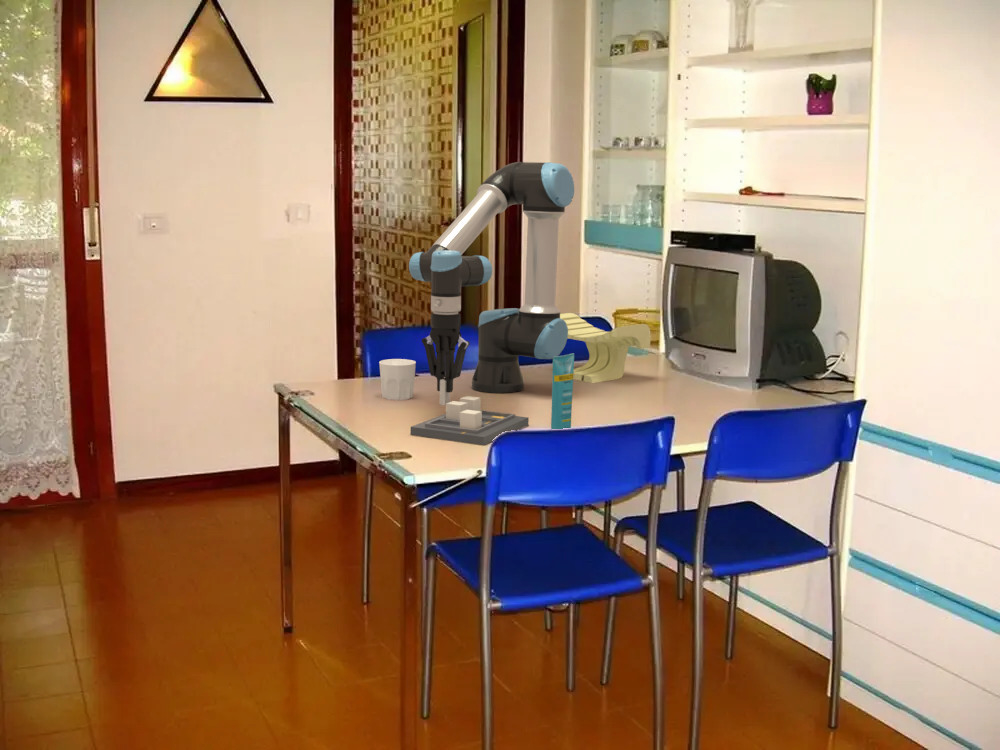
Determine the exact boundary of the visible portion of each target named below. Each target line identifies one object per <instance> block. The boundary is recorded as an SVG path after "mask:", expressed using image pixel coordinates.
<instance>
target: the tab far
mask: <svg viewBox="0 0 1000 750" xmlns="http://www.w3.org/2000/svg"><path fill="white" fill-rule="evenodd" d="M481 401H482V399H481V397H476V396H470V395H469V396H468V395H466V396H463V397H460V398H459V402H466V403H467V410H474V411H480V410H481V403H482V402H481Z"/></svg>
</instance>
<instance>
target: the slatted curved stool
mask: <svg viewBox="0 0 1000 750" xmlns="http://www.w3.org/2000/svg"><path fill="white" fill-rule="evenodd" d="M560 318H561V319H562V320H564V321H565V322H566V326H567V327H568V337H567V340H568V339H570V340H574V341H575V340H576V341H580V342H581V341H582V342H584V343H585V345H586V347H587V350H588V354H589V356H588V357H589V358H588V361H587V362H586V363H585V364H583V365H582V366H581V365H580V366H579V367H576V368H574V373H573V380H577V381H582V382H585V383H590V384H595V383H602V382H606V381H607V382H608V381H613V380H617V379H621V378H622V377H623V376H624V374H625V373H624V372H625V365H626V359H627V356H628V352H629V347H636V348H639V349H640V350H642V349H643V350H644V349H648V348H651V337H652V336H651V329H650V326H649V325H647V324H646V323H642V324H633V325H625V326H619V327H615V328H614V329H611V330H610V331H605V330H604V329H602V328H601V329H600V328H598V327H594V325H592V324H590V323H589V322H587V320H585V319H582V318H581V317H580V315H578V314H576V313H573V312H566V313H560Z"/></svg>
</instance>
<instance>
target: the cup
mask: <svg viewBox="0 0 1000 750" xmlns="http://www.w3.org/2000/svg"><path fill="white" fill-rule="evenodd" d="M378 363H379V364H378V365H379V374H380V385H381V387H380V389H381V390H380V391H381V398H383V399H386V400H387V401H388V400H390V401H392V400H393V401H405V400H410V398H411V399H412V398H414V387H415V375H416V364H417V362H416V360H412V359H406V358H403V359H402V358H391V359H390V358H389V359H382V360H380V361H379V362H378Z"/></svg>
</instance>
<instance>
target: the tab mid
mask: <svg viewBox="0 0 1000 750" xmlns="http://www.w3.org/2000/svg"><path fill="white" fill-rule="evenodd" d="M465 410H467V403H466V402H460V401H457V400H452V401H450V402H449V403H446V405H445V414H446V418H448V419H455V420H460V412H462V411H465Z"/></svg>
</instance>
